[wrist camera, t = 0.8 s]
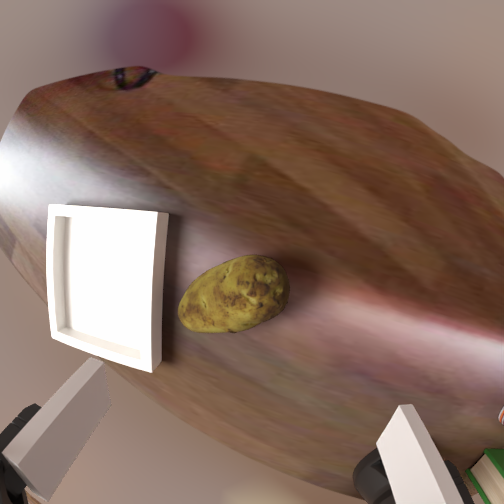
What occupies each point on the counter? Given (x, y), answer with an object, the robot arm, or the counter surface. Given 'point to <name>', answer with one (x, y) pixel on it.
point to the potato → (235, 295)
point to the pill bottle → (501, 416)
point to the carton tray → (107, 281)
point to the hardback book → (489, 476)
